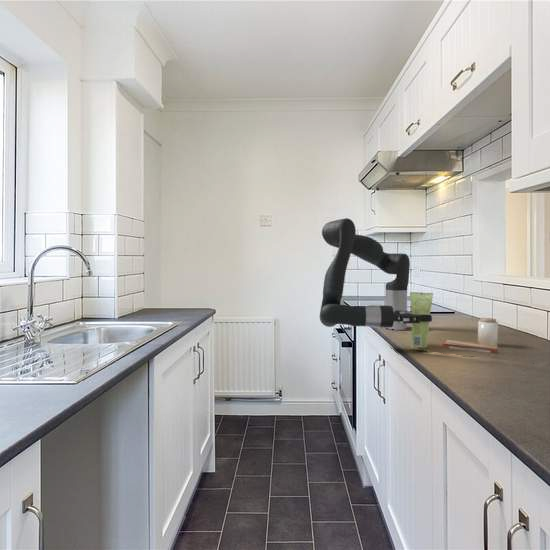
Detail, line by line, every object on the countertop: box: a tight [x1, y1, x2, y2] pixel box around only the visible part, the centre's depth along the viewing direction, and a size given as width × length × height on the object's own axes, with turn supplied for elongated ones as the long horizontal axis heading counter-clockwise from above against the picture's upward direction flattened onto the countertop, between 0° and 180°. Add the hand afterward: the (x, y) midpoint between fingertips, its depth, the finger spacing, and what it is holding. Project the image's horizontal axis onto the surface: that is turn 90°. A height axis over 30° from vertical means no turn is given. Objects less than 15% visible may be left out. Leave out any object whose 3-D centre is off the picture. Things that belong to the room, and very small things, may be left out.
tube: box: [409, 291, 434, 351], centre depth 131 cm, size 6×5×20 cm
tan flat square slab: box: [442, 339, 499, 354], centre depth 131 cm, size 15×16×2 cm
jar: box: [477, 317, 499, 347], centre depth 133 cm, size 6×6×9 cm
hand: (428, 317), depth 131 cm, fingers open, 4 cm apart
